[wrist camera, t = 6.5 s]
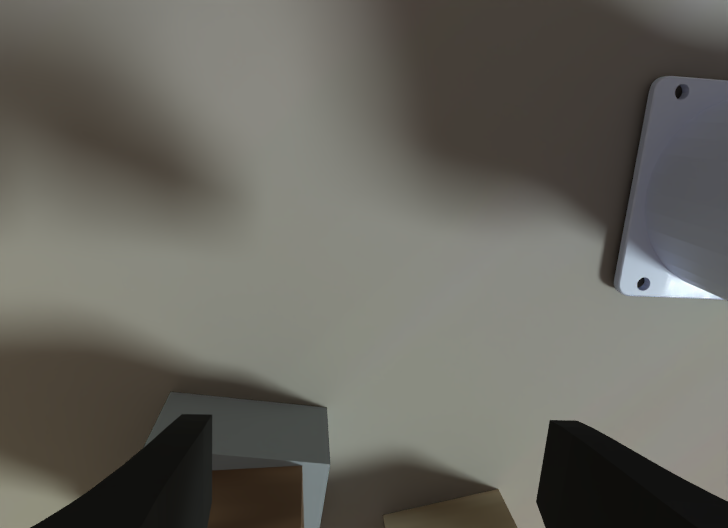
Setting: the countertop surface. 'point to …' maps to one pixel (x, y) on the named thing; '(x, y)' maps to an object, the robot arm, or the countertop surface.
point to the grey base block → (262, 439)
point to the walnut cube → (257, 498)
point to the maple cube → (456, 514)
